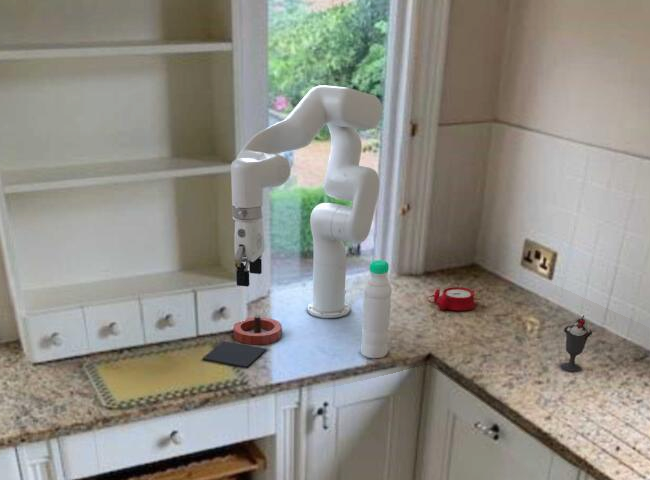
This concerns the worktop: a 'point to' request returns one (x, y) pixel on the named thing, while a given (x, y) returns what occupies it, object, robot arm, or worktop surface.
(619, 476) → the worktop surface
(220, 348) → the mat
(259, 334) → the ring
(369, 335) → the water bottle
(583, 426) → the worktop surface
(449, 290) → the alarm clock
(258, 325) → the peg stand
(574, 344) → the sundae
